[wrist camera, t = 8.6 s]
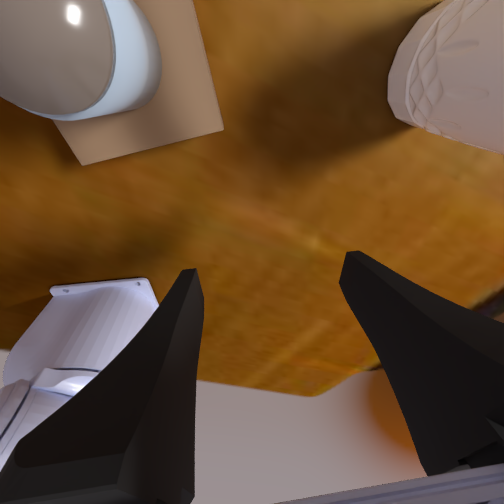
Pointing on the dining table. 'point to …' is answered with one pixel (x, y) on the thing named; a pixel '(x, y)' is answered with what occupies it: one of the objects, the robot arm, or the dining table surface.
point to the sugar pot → (77, 57)
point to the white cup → (453, 73)
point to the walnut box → (157, 94)
